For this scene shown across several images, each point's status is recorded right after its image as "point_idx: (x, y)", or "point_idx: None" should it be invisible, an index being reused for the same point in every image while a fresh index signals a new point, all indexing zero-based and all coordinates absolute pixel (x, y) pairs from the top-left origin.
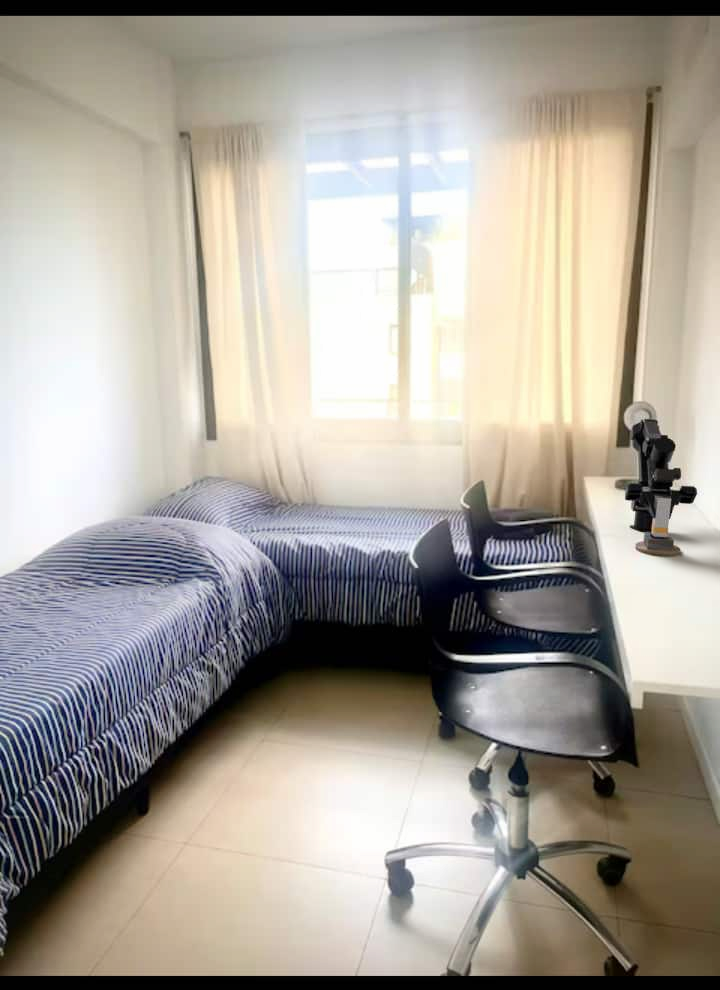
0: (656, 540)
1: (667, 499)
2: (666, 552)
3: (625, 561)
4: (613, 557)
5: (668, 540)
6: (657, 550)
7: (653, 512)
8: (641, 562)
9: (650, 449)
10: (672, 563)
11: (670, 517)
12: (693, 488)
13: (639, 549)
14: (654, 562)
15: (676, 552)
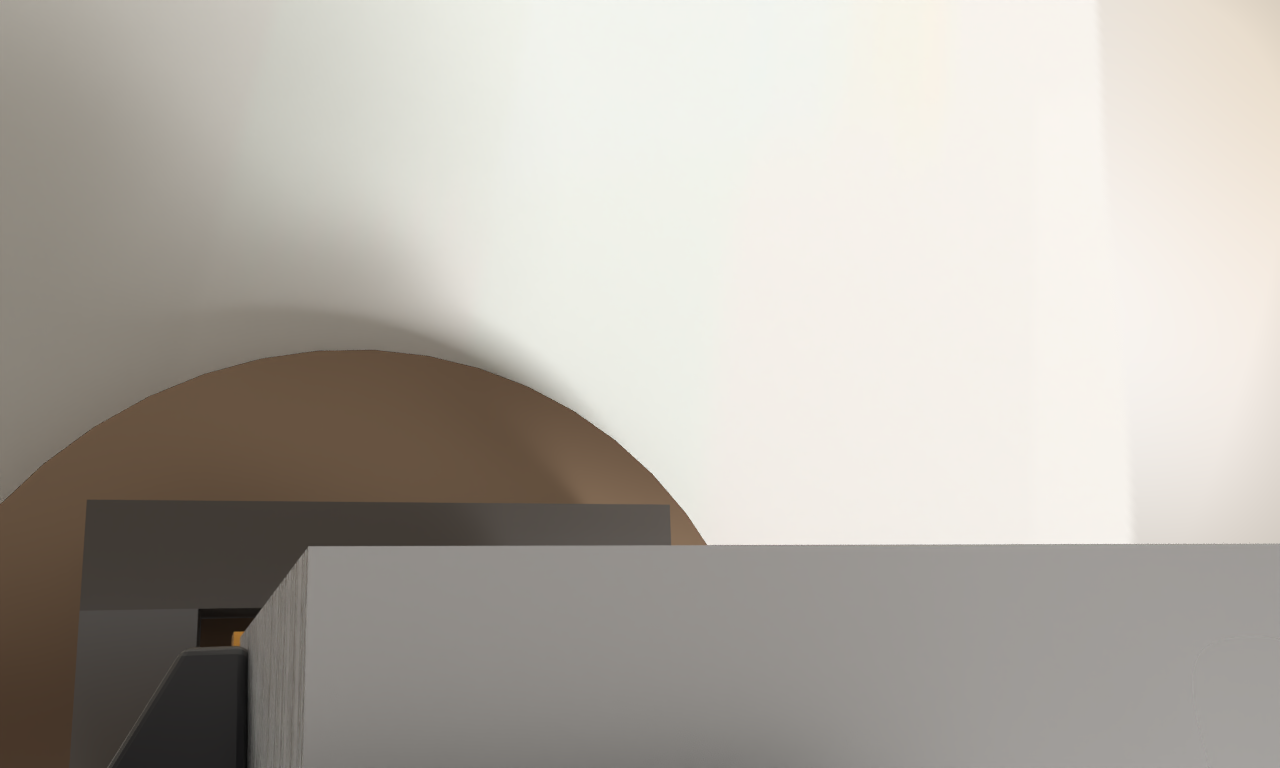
0: (499, 505)
1: (683, 552)
2: (276, 390)
3: (923, 50)
4: (1059, 209)
5: (224, 512)
6: (427, 491)
7: None
8: (724, 30)
9: None
10: (252, 31)
11: (185, 652)
12: None
13: None
14: (538, 51)
15: (49, 460)
